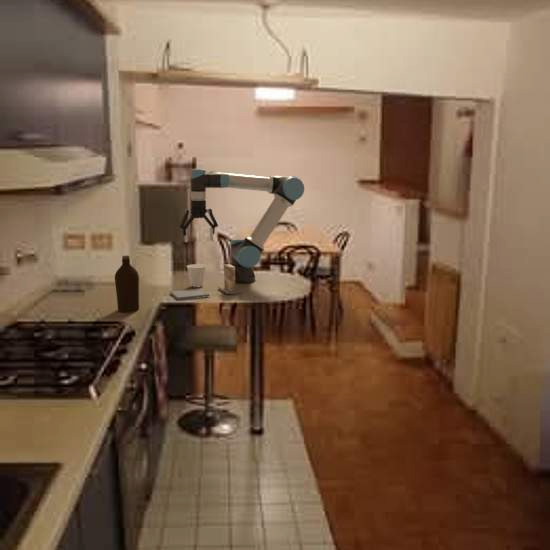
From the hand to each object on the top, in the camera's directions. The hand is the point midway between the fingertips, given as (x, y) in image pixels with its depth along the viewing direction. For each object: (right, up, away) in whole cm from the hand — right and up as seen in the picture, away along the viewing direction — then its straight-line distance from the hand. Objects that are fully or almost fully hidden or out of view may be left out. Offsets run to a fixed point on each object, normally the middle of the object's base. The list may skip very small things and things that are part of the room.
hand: (198, 241), depth 318 cm
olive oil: (-28, -33, -36) cm, 56 cm away
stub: (+16, -26, -1) cm, 30 cm away
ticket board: (-3, -28, -9) cm, 29 cm away
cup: (-2, -24, +10) cm, 26 cm away
